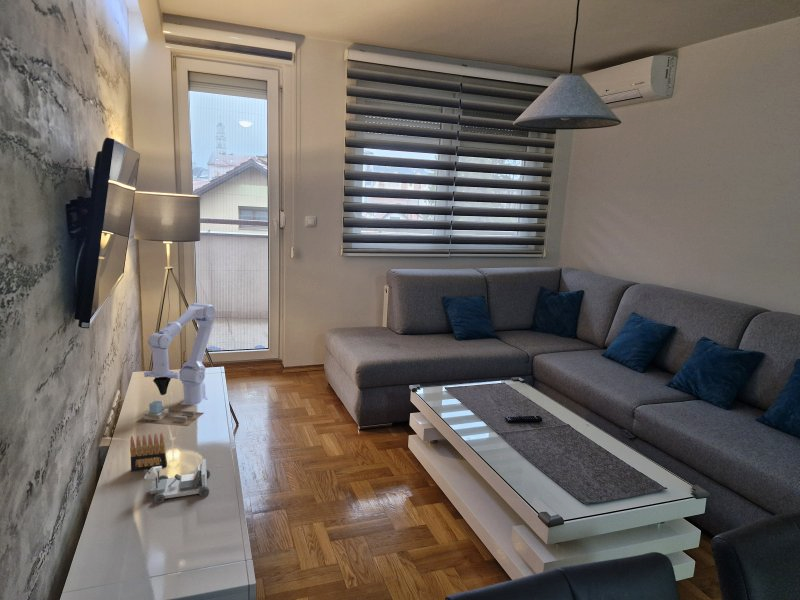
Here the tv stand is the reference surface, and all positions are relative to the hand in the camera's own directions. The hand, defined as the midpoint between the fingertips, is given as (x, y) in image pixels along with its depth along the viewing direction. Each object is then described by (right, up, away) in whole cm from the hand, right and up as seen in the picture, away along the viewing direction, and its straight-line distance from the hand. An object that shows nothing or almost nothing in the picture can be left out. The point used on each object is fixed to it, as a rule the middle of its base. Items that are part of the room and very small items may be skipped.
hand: (163, 394), depth 210 cm
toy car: (+29, -21, -52) cm, 63 cm away
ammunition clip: (+13, -18, -40) cm, 45 cm away
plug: (-2, -9, -1) cm, 9 cm away
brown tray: (+4, -10, -1) cm, 10 cm away
